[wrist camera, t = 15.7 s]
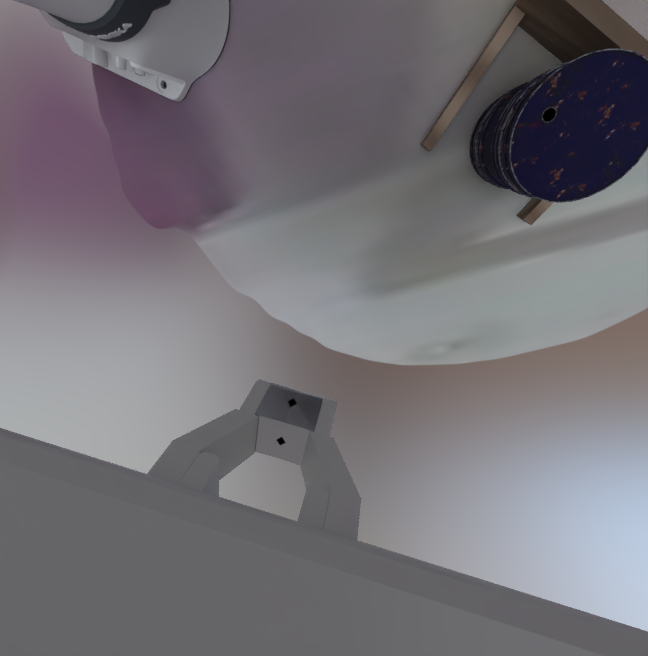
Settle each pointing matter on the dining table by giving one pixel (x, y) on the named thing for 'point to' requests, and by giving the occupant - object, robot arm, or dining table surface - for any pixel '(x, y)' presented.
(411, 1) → the dining table surface
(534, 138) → the dark blue cylinder
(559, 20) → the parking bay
